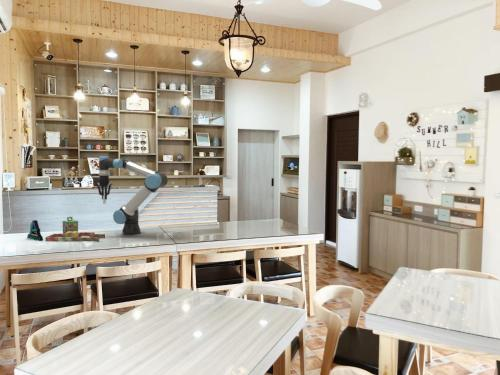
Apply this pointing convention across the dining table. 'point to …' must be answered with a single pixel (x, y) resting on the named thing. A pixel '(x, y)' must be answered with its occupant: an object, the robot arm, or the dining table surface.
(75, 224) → the green lantern
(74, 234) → the ochre block
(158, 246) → the dining table surface
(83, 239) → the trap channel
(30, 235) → the decorative sign
